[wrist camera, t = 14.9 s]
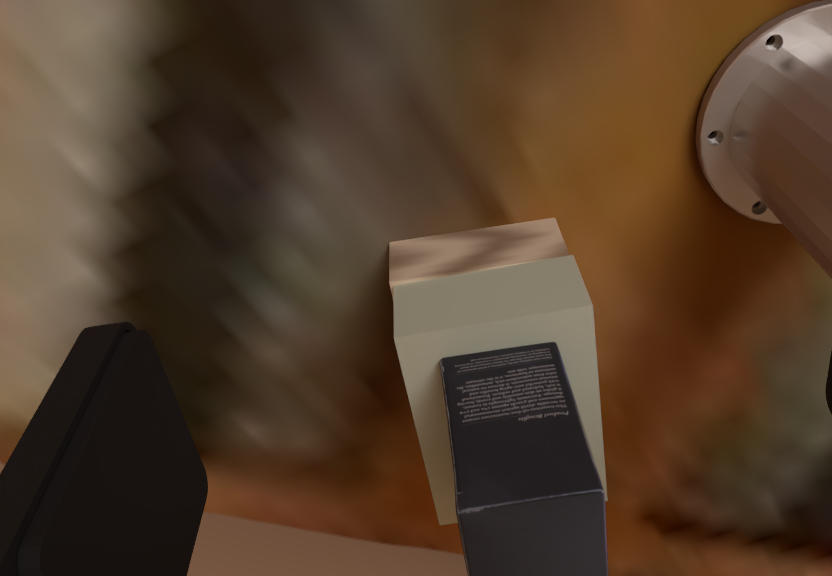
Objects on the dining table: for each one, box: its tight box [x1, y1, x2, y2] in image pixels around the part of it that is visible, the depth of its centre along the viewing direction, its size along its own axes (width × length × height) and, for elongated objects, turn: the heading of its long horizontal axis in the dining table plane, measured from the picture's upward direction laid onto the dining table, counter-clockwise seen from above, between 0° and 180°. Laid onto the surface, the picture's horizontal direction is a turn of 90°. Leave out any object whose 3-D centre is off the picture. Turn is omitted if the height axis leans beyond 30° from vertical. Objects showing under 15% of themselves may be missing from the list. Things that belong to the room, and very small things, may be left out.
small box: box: [439, 342, 608, 576], centre depth 39 cm, size 11×6×10 cm, turn 9°
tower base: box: [389, 218, 569, 303], centre depth 49 cm, size 10×14×5 cm
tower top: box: [393, 255, 608, 525], centre depth 45 cm, size 10×14×5 cm
